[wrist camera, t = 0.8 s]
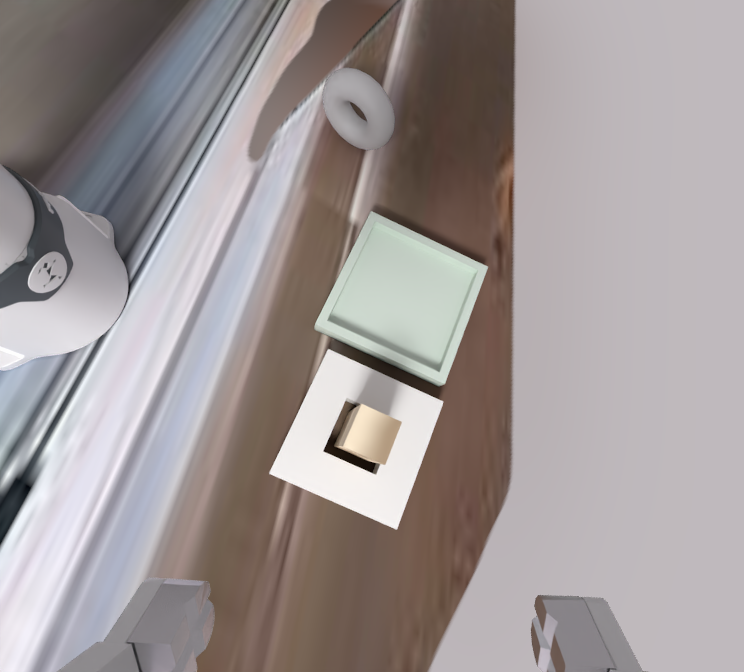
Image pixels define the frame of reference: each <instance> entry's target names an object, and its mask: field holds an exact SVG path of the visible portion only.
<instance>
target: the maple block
mask: <svg viewBox="0 0 744 672" xmlns="http://www.w3.org/2000/svg"><path fill="white" fill-rule="evenodd" d="M401 424H402V422H401V421H399V420H396V419H394V418H392V417H390V416H388V415H385V414H383V413H381V412H379V411H377V410H374V409H372V408H370V407H368V406H366V405H363V404H360V405H359V406H357V407H356V408H354V409H353V410H351V411H350V412H349V413H348V415H347V417H346V420H345V422H344V424H343V427H342V429H341V431H340V433H339V436H338V438H337V440H336V443H335V445H334V446H335V447H337V448H340V449H342V450H344V451H346V452H348V453H351V454H353V455H355V456H357V457H360V458H362V459H364V460H366V461H370V462H374V463H378V464H382V465H385V464H386V462H387V459H388V457H389V454H390V452H391V449H392V446H393V444H394V441H395V439H396V436H397V434H398V431H399V429H400V426H401Z"/></svg>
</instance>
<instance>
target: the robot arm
mask: <svg viewBox="0 0 744 672" xmlns="http://www.w3.org/2000/svg"><path fill="white" fill-rule="evenodd" d="M127 294H128V275H127V271H126V268H125V265H124V263H123V261H122V259H121V257H120V256H119V254H118V252H117V250H116V248H115V245H114V230H113V226H112V224H111V223H110V222H109V221H108V220H107V219H106V218H104V217H103V216H100V215H96V214H92V213H88V212H84V211H81V210H79V209H77V208H76V207H75V206H74V205H73V204H72V203H71V202H70V201H68V200H67V199H66V198H64V197H63V196H61V195H57V196H53V195H50V194H47V193H43V192H40V191H39V190H38V189H37V188H36V187H35V186H33V185H32V184H31V183H30V182H29V181H27V180H26V179H24V178H22V177H21V176H20V175H19V174H17V173H16V172H14V171H13V170H11V169H10V168H8V167H6V166H3V165H1V164H0V370H2V371H5V370H10V369H13V368H16V367H18V366H20V365H22V364H25V363H27V362H28V361H30V360H32V359H35V358H39V357H44V356H52V355H59V354H64V353H68V352H71V351H75V350H77V349H80V348H82V347H84V346H86V345H88V344H90V343H92V342H93V341H95V340H96V339H98V338H99V337H100V336H102V335H103V334H104V333H105V332H106V331H107V330H108V329H109V328H110V327H111V326H112V325H113V324H114V323H115V321H116V320H117V318H118V317H119V315H120V314H121V312H122V310H123V307H124V305H125V302H126V299H127ZM210 592H211V591H210V587H209V582H206V581H194V580H181V579H167V578H147V579H146V580H145V581H144V582H143V583H142V584H141V585H140V587H139V588H138V590H137V591H136V593H135V594H134V596H133V597H132V599H131V600H130V602H129V603H128V605H127V606H126V608H125V609H124V611H123V613H122V614H121V616H120V617H119V619H118V620H117V622H116V623H115V625H114V626H113V628H112V629H111V631H110V632H109V634H108V635H107V637H106V638H105V640H104V641H103V642H96V643H95V644H94V645H92V646H91V647H89V648H88V649H87V650H85V651H84V652H83V653H81V654H80V655H79V656H77V657H76V658H75V659H73V660H72V661H70V662H69V663H68V664H66V665H65V666H64V667H62V668H61V669H60V670H58V671H57V672H196V670H197V664H196V659H195V658H196V657H197V656H198V655H199V654H200V653H201V652H202V651H204V650H205V649H206V647H207V644H208V642H209V639H210V637H211V633H212V629H213V624H214V607H213V604H212V603H211V602H210V601H209V600H208V599H207V598H208V596H209V594H210ZM535 610H536V613H537V616H536V617H535V618H534V619H533V620H532V628H531V636H532V646H533V651H534V655H535V659H536V663H537V666H538V667H539V669H540V670H541V671H542V672H646V671H642V669H641V667H640V665H639V663H638V661H637V659H636V657H635V655H634V653H633V652H632V649H631V648H630V646H629V644H628V642H627V640H626V638H625V636H624V634H623V632H622V630H621V628H620V626H619V624H618V622H617V620H616V619H615V617H614V615H613V613H612V611H611V609H610V607H609V605H608V603H607V602H606V601H605V600H604V599H603V598H592V597H579V596H548V595H538V596H537V598H536V600H535Z"/></svg>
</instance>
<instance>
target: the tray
mask: <svg viewBox="0 0 744 672" xmlns="http://www.w3.org/2000/svg"><path fill="white" fill-rule="evenodd" d="M487 269H488V267H487V266H485V265H483V264H481V263H479V262H477V261H475V260H473V259H470V258H468V257H466V256H464V255H462V254H460V253H458V252H456V251H454V250H452V249H450V248H447V247H445V246H443V245H441V244H439V243H437V242H435V241H433V240H431V239H429V238H426V237H424V236H422V235H420V234H418V233H416V232H414V231H412V230H410V229H408V228H406V227H403V226H401V225H399V224H397V223H395V222H393V221H391V220H389V219H387V218H385V217H383V216H380V215H378V214H376V213H374V212H372V211H371V212H370V214H369V216H368V218H367V220H366V222H365V224H364V226H363V228H362V231H361V233H360V235H359V237H358V239H357V241H356V243H355V245H354V247H353V249H352V251H351V253H350V255H349V257H348V259H347V261H346V263H345V265H344V267H343V269H342V271H341V273H340V275H339V277H338V279H337V281H336V283H335V285H334V287H333V289H332V291H331V293H330V295H329V297H328V299H327V301H326V303H325V305H324V307H323V309H322V311H321V313H320V315H319V317H318V319H317V321H316V323H315V329H314V330H317V331H319V332H321V333H323V334H325V335H327V336H330V337H332V338H334V339H336V340H338V341H341V342H343V343H345V344H347V345H349V346H351V347H354V348H356V349H358V350H360V351H362V352H364V353H367V354H369V355H371V356H373V357H375V358H378V359H380V360H382V361H384V362H386V363H388V364H391V365H393V366H395V367H397V368H399V369H401V370H404V371H406V372H408V373H410V374H412V375H415V376H417V377H419V378H421V379H423V380H425V381H428V382H430V383H432V384H434V385H436V386H438V387H439V386H441V385H443V384H445V382H446V379H447V376H448V374H449V371H450V368H451V366H452V363H453V360H454V358H455V355H456V352H457V349H458V347H459V344H460V341H461V339H462V336H463V333H464V331H465V328H466V325H467V322H468V320H469V317H470V314H471V312H472V309H473V306H474V304H475V301H476V298H477V296H478V293H479V290H480V287H481V285H482V282H483V279H484V277H485V274H486V271H487Z"/></svg>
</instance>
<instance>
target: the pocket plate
mask: <svg viewBox="0 0 744 672" xmlns="http://www.w3.org/2000/svg"><path fill="white" fill-rule="evenodd" d="M345 401H347V402H350V403H352V404H354V405H356V406H359V405H360V404H363V405H366V406H368V407H370V408H372V409H374V410H377V411H379V412H381V413H383V414H385V415H388V416H390V417H392V418H394V419H396V420H399V421H401V422H402V424H401V426H400V429H399V431H398V434H397V436H396V439H395V441H394V444H393V446H392V449H391V452H390V454H389V457H388V459H387V462H386V464H385V465H382V464H378V463H376V465H375V467H374V470H373V472H372V473H370V472H368V471H366V470H364V469H361V468H359V467H357V466H355V465H352V464H350V463H348V462H346V461H343V460H341V459H339V458H337V457H334V456H332V455H330V454H328V453H325V452H323V450H324V448H325V446H326V444H327V441H328V439H329V437H330V435H331V432H332V430H333V428H334V425H335V423H336V421H337V419H338V416H339V414H340V412H341V410H342V407H343V405H344V403H345ZM442 405H443V401H441V400H439V399H436V398H434V397H432V396H430V395H428V394H426V393H423V392H421V391H419V390H417V389H415V388H412V387H410V386H408V385H406V384H404V383H401V382H399V381H397V380H395V379H393V378H391V377H388V376H386V375H384V374H382V373H380V372H377V371H375V370H373V369H371V368H369V367H367V366H364V365H362V364H360V363H358V362H356V361H353V360H351V359H349V358H347V357H345V356H343V355H340V354H338V353H336V352H334V351H332V350H329V349H328V351H327V353H326V355H325V357H324V359H323V361H322V363H321V365H320V368H319V370H318V372H317V374H316V376H315V378H314V380H313V382H312V384H311V386H310V389H309V391H308V393H307V395H306V397H305V399H304V401H303V403H302V405H301V408H300V410H299V412H298V414H297V416H296V418H295V420H294V422H293V424H292V427H291V429H290V431H289V433H288V435H287V437H286V439H285V441H284V443H283V445H282V448H281V450H280V452H279V454H278V456H277V458H276V460H275V462H274V464H273V467H272V469H271V471H270V473H269V474H271V475H274V476H276V477H278V478H280V479H283V480H285V481H287V482H290V483H292V484H294V485H296V486H299V487H301V488H303V489H306V490H308V491H310V492H312V493H315V494H317V495H319V496H321V497H324V498H326V499H328V500H331V501H333V502H335V503H337V504H340V505H342V506H344V507H347V508H349V509H351V510H353V511H356V512H358V513H360V514H362V515H365V516H367V517H369V518H372V519H374V520H376V521H378V522H381V523H383V524H385V525H388V526H390V527H392V528H394V529H397V528H398V525H399V522H400V519H401V517H402V514H403V511H404V509H405V506H406V503H407V500H408V498H409V495H410V492H411V489H412V487H413V484H414V481H415V479H416V476H417V473H418V470H419V468H420V465H421V462H422V459H423V457H424V454H425V451H426V449H427V446H428V443H429V440H430V438H431V435H432V432H433V429H434V427H435V424H436V421H437V418H438V416H439V413H440V410H441V408H442Z"/></svg>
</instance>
